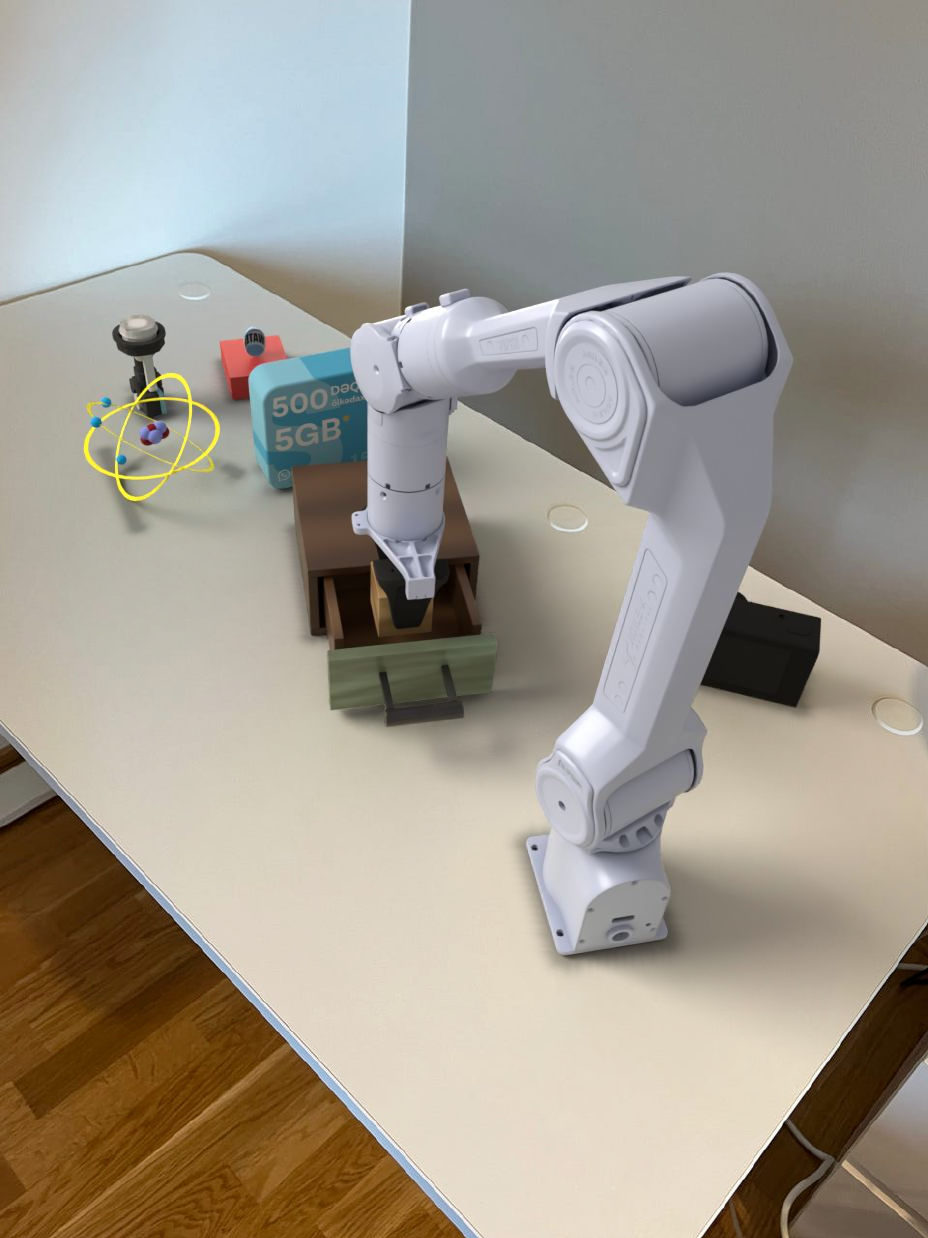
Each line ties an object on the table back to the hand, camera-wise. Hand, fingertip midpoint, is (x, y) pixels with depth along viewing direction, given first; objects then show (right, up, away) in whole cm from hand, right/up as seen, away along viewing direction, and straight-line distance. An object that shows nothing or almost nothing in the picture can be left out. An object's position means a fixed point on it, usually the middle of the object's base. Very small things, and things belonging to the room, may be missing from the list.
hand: (402, 603), depth 88 cm
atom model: (-26, +13, +20) cm, 35 cm away
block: (0, -1, +1) cm, 1 cm away
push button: (-29, +22, +30) cm, 47 cm away
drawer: (0, -5, +3) cm, 6 cm away
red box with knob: (-19, +26, +35) cm, 47 cm away
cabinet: (-3, +3, +12) cm, 13 cm away
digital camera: (+29, -6, +6) cm, 30 cm away
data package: (-10, +14, +23) cm, 29 cm away
